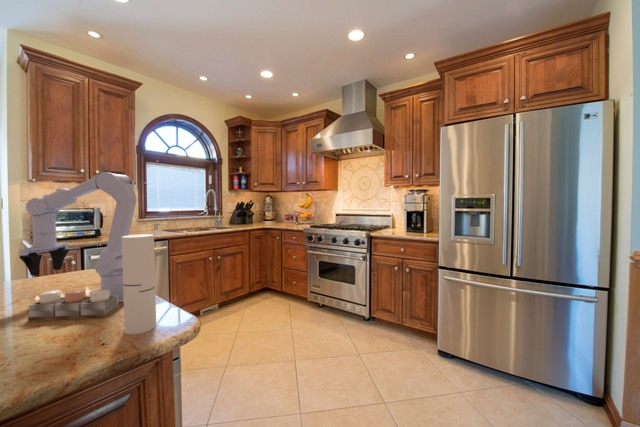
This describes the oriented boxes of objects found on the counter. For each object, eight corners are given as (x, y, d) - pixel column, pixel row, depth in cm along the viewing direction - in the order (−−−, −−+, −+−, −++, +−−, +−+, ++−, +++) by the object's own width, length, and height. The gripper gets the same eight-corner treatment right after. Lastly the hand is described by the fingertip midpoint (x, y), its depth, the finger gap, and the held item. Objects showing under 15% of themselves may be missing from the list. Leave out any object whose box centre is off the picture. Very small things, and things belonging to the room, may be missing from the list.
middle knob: (89, 301, 85) (89, 289, 84) (77, 307, 80) (77, 294, 80) (74, 302, 84) (73, 289, 84) (61, 308, 80) (60, 294, 80)
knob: (113, 301, 85) (113, 288, 85) (102, 306, 81) (102, 293, 80) (97, 301, 85) (97, 289, 85) (86, 307, 80) (85, 294, 80)
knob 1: (65, 302, 84) (65, 289, 84) (52, 308, 80) (51, 294, 79) (49, 303, 84) (49, 290, 84) (35, 308, 79) (34, 295, 79)
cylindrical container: (128, 324, 75) (125, 235, 74) (158, 320, 78) (155, 233, 77) (121, 336, 69) (118, 238, 68) (153, 331, 72) (151, 236, 71)
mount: (119, 309, 86) (119, 295, 86) (104, 318, 80) (103, 303, 80) (49, 311, 85) (49, 297, 85) (28, 320, 78) (27, 305, 78)
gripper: (54, 231, 101) (55, 267, 102) (8, 236, 87) (11, 278, 87) (72, 231, 101) (74, 267, 101) (30, 235, 86) (32, 278, 87)
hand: (46, 272), depth 94 cm, fingers open, 7 cm apart
